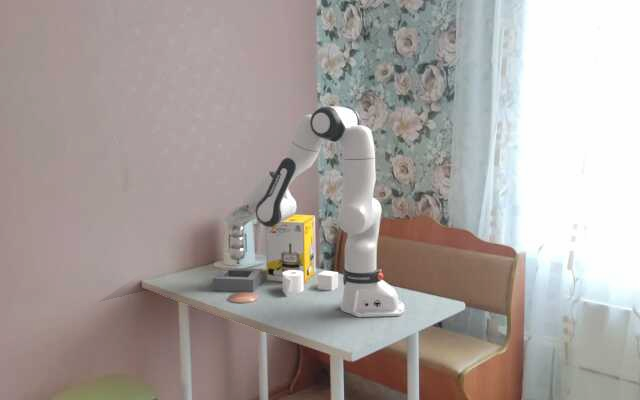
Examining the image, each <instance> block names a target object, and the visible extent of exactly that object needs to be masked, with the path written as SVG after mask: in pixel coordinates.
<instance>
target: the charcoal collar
mask: <svg viewBox="0 0 640 400" xmlns="http://www.w3.org/2000/svg"><path fill="white" fill-rule="evenodd" d="M262 282H263V269H262V268H246V267H245V268H244V267H243V268H241V267H223V268H222V269H221V271H219V272H218V273H217V274H216V275H215V276H214V277H213V278H212V288H213V289H212V291H213V292H234V293H243V292H249V293H254V292H255V291H256V290H257V289H258V287H259V286H260V285H261V283H262Z"/></svg>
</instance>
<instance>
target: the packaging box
mask: <svg viewBox="0 0 640 400" xmlns="http://www.w3.org/2000/svg"><path fill="white" fill-rule="evenodd" d="M265 249H266V250H265V252H266V254H265V255H266V257H265V258H266V281H268V282H282V273H283V272H284V271H288V270H299V271H302V272H303V281H304V284H305V283H306V282H308V281H309V279H310V278H312V276H314V274H316V272H317V268H316V267H317V266H316V263H317V262H316V259H317V257H316V215H311V214H294V215H293V216H292V217H290V218H288V219H286V220H283V221H281V222H279V223H278V224H276V225H274V226H272V227H267V226H265ZM282 283H283V282H282Z"/></svg>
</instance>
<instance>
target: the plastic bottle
mask: <svg viewBox="0 0 640 400" xmlns="http://www.w3.org/2000/svg"><path fill="white" fill-rule="evenodd" d="M233 209H234V208H233ZM233 209H231V211H232V210H233ZM244 225H245V222H244V223H240V224H237V225H234V228H233V229H232V230H229V238H230V239H229V249H228V250H229V251H228V255H229V258H230V259H231V260H236V261H237V260H238V261H239V260H242V259H245V256H246V249H245V241H244V233H245V226H246V225H245V226H244Z"/></svg>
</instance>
